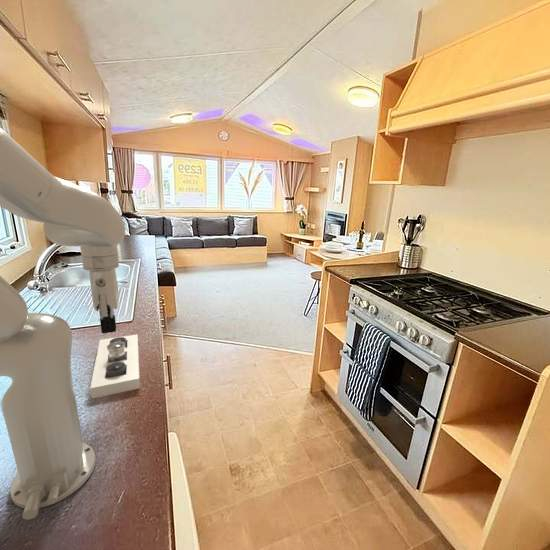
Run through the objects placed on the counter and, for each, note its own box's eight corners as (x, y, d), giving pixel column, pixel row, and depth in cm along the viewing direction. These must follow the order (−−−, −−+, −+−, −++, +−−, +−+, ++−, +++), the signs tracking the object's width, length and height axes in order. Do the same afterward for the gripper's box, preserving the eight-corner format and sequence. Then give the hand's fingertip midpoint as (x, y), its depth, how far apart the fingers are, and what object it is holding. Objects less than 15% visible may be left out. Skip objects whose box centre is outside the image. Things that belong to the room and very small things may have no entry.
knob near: (126, 382, 81) (125, 369, 80) (107, 386, 79) (105, 373, 78) (126, 373, 85) (125, 360, 84) (108, 376, 83) (106, 363, 82)
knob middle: (126, 360, 87) (124, 347, 86) (108, 363, 85) (106, 350, 84) (126, 352, 91) (125, 340, 90) (109, 355, 89) (107, 343, 88)
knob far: (127, 354, 94) (126, 342, 93) (110, 357, 92) (109, 345, 91) (127, 347, 98) (126, 336, 97) (111, 349, 96) (110, 338, 95)
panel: (140, 388, 80) (139, 378, 79) (91, 398, 75) (90, 388, 74) (138, 342, 102) (137, 334, 101) (101, 348, 98) (99, 339, 97)
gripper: (116, 267, 67) (124, 342, 72) (119, 254, 81) (126, 318, 85) (77, 270, 64) (88, 347, 69) (87, 255, 78) (95, 321, 82)
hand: (109, 331), depth 77 cm, fingers closed
